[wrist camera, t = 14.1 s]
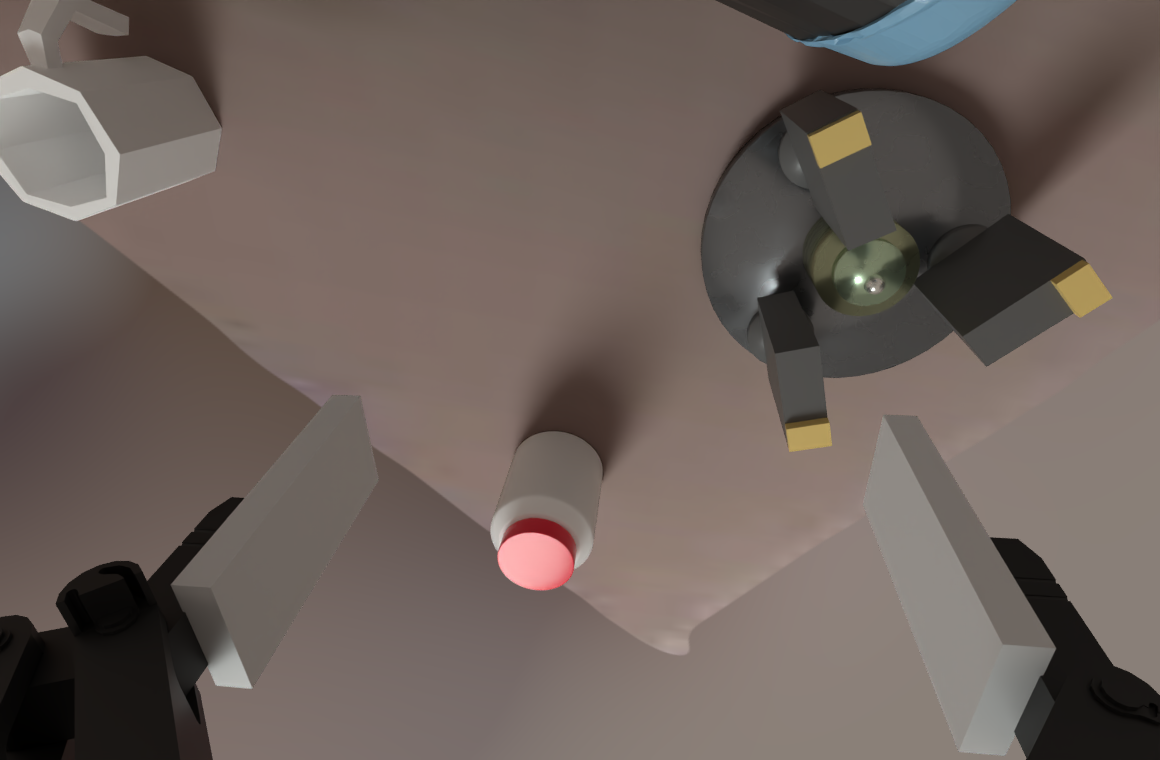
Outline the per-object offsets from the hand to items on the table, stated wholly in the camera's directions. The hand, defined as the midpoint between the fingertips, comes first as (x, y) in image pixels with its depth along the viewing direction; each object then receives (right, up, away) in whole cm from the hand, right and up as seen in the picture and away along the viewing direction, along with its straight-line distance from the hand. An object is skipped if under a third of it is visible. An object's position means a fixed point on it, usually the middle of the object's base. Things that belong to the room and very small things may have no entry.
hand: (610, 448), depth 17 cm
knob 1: (+13, +5, +29) cm, 32 cm away
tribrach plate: (+17, +11, +28) cm, 34 cm away
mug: (-29, +21, +28) cm, 46 cm away
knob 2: (+13, +16, +23) cm, 31 cm away
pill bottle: (-3, -6, +40) cm, 40 cm away
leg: (+24, +9, +26) cm, 36 cm away
